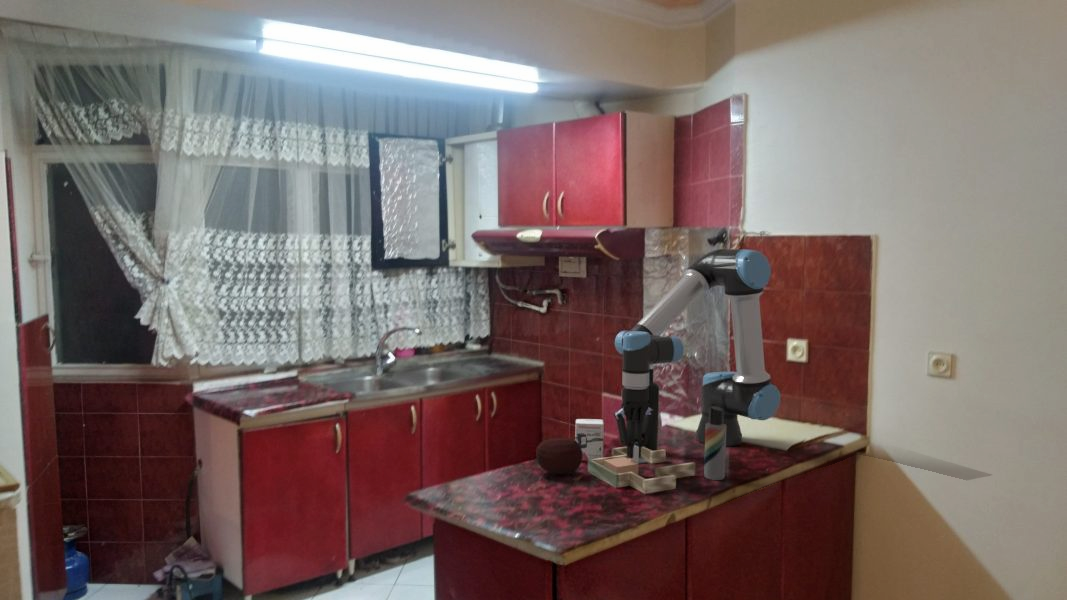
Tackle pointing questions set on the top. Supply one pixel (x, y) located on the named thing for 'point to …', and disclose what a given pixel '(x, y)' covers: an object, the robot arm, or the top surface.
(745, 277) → the robot arm
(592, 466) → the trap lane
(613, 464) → the block
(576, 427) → the ink box
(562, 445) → the potato
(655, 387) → the wine bottle
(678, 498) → the top surface
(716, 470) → the lotion bottle
